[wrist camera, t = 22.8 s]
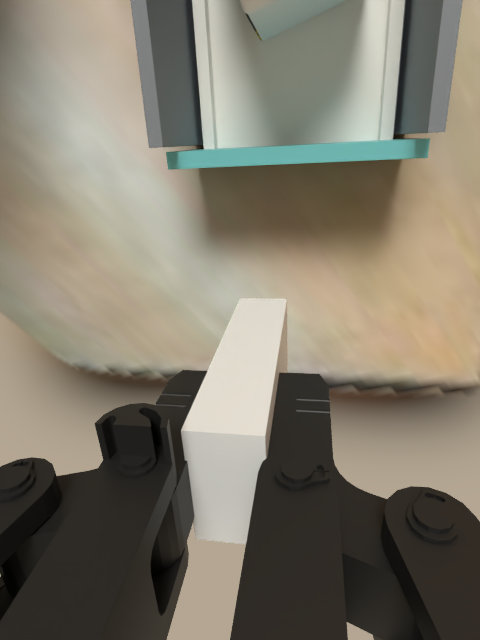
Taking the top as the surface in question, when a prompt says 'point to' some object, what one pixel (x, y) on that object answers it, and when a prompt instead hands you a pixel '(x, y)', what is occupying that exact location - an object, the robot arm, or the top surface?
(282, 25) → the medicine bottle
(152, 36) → the bay
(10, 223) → the top surface
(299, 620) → the robot arm
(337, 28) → the tray
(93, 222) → the top surface
